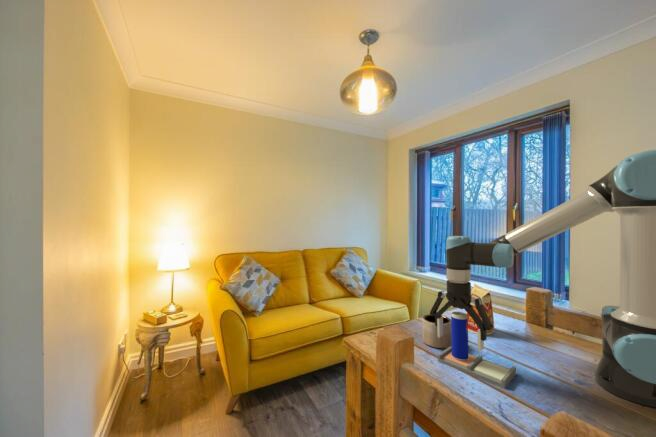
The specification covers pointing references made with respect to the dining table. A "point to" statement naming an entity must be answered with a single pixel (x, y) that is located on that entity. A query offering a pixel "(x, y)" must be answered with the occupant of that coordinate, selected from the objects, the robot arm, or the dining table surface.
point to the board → (479, 368)
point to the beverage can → (459, 335)
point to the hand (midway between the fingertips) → (459, 342)
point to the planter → (431, 332)
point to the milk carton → (487, 305)
